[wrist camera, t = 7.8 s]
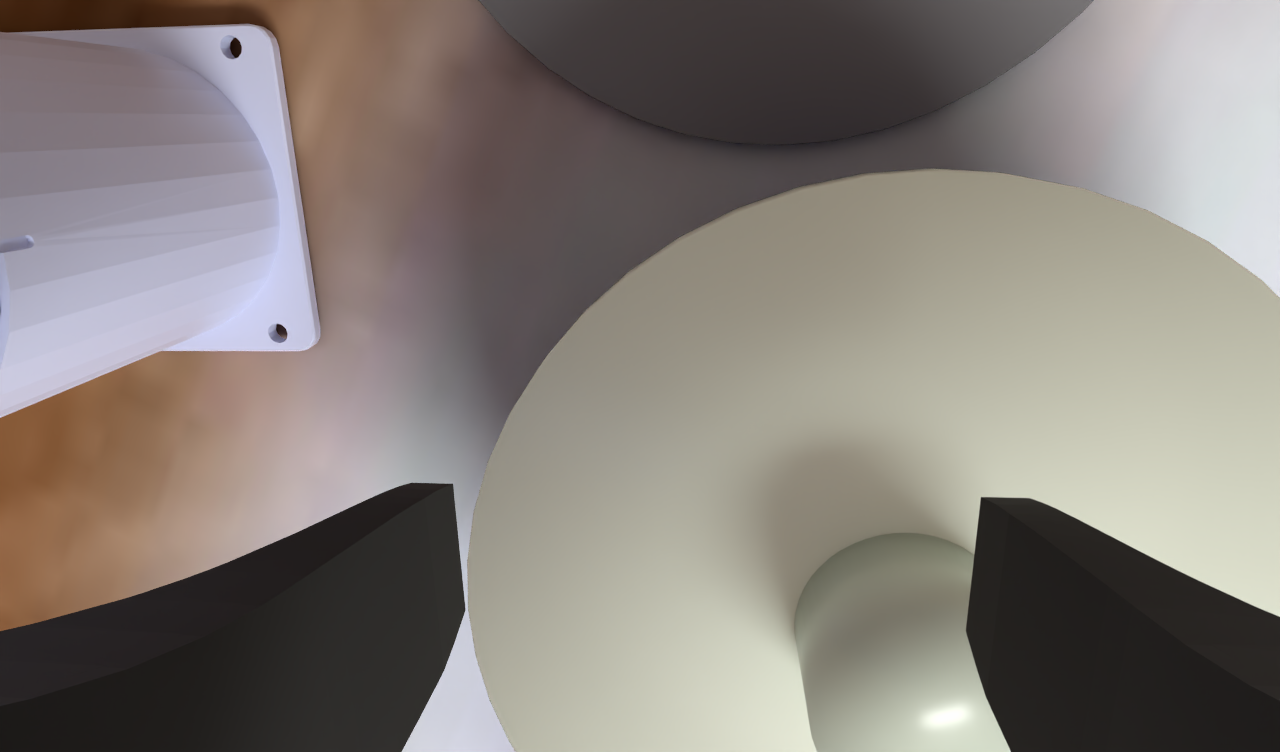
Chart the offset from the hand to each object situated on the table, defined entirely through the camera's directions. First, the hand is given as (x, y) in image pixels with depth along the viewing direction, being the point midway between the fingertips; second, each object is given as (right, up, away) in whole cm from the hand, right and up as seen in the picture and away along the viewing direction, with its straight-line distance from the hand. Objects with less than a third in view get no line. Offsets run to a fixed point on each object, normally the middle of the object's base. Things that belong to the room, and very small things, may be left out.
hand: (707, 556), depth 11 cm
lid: (+4, -2, +5) cm, 7 cm away
